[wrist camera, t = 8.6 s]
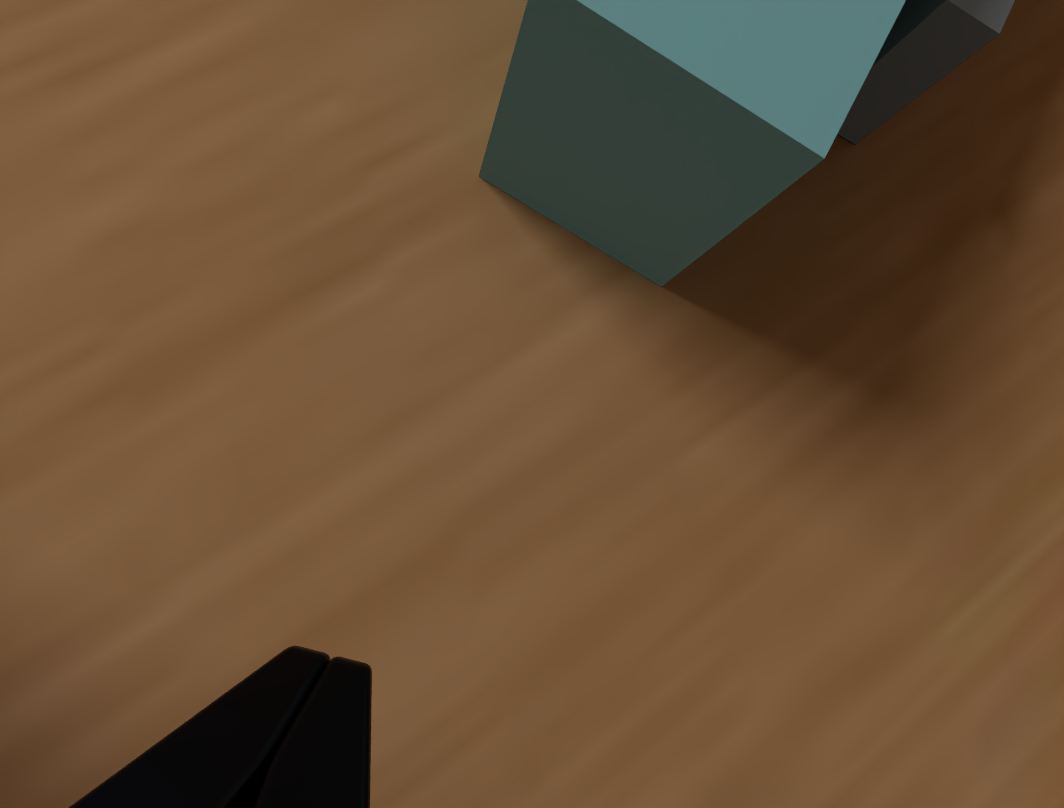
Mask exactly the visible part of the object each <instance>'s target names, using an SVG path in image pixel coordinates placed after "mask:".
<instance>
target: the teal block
mask: <svg viewBox="0 0 1064 808" xmlns="http://www.w3.org/2000/svg"><path fill="white" fill-rule="evenodd" d="M905 1H906V0H528V2H527V5H526V9H525V13H524V16H523V20H522V23H521V27H520V30H519V34H518V38H517V41H516V45H515V48H514V52H513V55H512V59H511V63H510V66H509V70H508V73H507V77H506V80H505V84H504V88H503V91H502V95H501V98H500V102H499V105H498V109H497V113H496V116H495V120H494V123H493V127H492V130H491V134H490V138H489V141H488V145H487V148H486V152H485V156H484V159H483V163H482V166H481V170H480V173H479V177H481V178H482V179H484V180H486V181H487V182H489V183H491V184H492V185H494V186H495V187H497V188H499V189H500V190H502V191H504V192H505V193H507V194H509V195H510V196H512V197H514V198H515V199H517V200H519V201H520V202H522V203H523V204H525V205H527V206H528V207H530V208H532V209H533V210H535V211H537V212H538V213H540V214H542V215H543V216H545V217H547V218H548V219H550V220H551V221H553V222H555V223H556V224H558V225H560V226H561V227H563V228H565V229H566V230H568V231H570V232H571V233H573V234H575V235H576V236H578V237H579V238H581V239H583V240H584V241H586V242H588V243H589V244H591V245H593V246H594V247H596V248H598V249H599V250H601V251H603V252H604V253H606V254H607V255H609V256H611V257H612V258H614V259H616V260H617V261H619V262H621V263H622V264H624V265H626V266H627V267H629V268H631V269H632V270H634V271H635V272H637V273H639V274H640V275H642V276H644V277H645V278H647V279H649V280H650V281H652V282H654V283H655V284H657V285H659V286H660V287H662V286H663V285H665V284H666V283H667V282H668V281H670V280H671V279H672V278H673V277H675V276H676V275H677V274H678V273H680V272H681V271H682V270H684V269H685V268H686V267H687V266H689V265H690V264H691V263H692V262H694V261H695V260H696V259H698V258H699V257H700V256H701V255H703V254H704V253H705V252H706V251H708V250H709V249H710V248H712V247H713V246H714V245H715V244H717V243H718V242H719V241H720V240H722V239H723V238H724V237H726V236H727V235H728V234H729V233H731V232H732V231H733V230H734V229H736V228H737V227H738V226H740V225H741V224H742V223H743V222H745V221H746V220H747V219H748V218H750V217H751V216H752V215H754V214H755V213H756V212H757V211H759V210H760V209H761V208H762V207H764V206H765V205H766V204H768V203H769V202H770V201H771V200H773V199H774V198H775V197H776V196H778V195H779V194H780V193H781V192H783V191H784V190H785V189H787V188H788V187H789V186H790V185H792V184H793V183H794V182H795V181H797V180H798V179H799V178H801V177H802V176H803V175H804V174H806V173H807V172H808V171H809V170H811V169H812V168H813V167H815V166H816V165H817V164H818V163H820V162H821V161H822V160H823V159H825V157H826V155H827V153H828V151H829V149H830V147H831V145H832V143H833V141H834V139H835V137H836V135H837V133H838V131H839V130H840V128H841V126H842V124H843V122H844V120H845V118H846V116H847V114H848V112H849V110H850V108H851V106H852V104H853V102H854V100H855V98H856V96H857V94H858V93H859V91H860V89H861V87H862V85H863V83H864V81H865V79H866V77H867V75H868V73H869V71H870V69H871V67H872V65H873V63H874V61H875V59H876V57H877V56H878V54H879V52H880V50H881V48H882V46H883V44H884V42H885V40H886V38H887V36H888V34H889V32H890V30H891V28H892V26H893V24H894V22H895V20H896V19H897V17H898V15H899V13H900V11H901V9H902V7H903V5H904V3H905Z"/></svg>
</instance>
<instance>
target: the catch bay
mask: <svg viewBox="0 0 1064 808" xmlns="http://www.w3.org/2000/svg"><path fill="white" fill-rule="evenodd" d="M1014 2H1015V0H906V1H905V3H904V5H903V7H902V9H901V11H900V13H899V15H898V17H897V19H896V20H895V22H894V24H893V26H892V28H891V30H890V32H889V34H888V36H887V38H886V40H885V42H884V44H883V46H882V48H881V50H880V52H879V54H878V56H877V57H876V59H875V61H874V63H873V65H872V67H871V69H870V71H869V73H868V75H867V77H866V79H865V81H864V83H863V85H862V87H861V89H860V91H859V93H858V94H857V96H856V98H855V100H854V102H853V104H852V106H851V108H850V110H849V112H848V114H847V116H846V118H845V120H844V122H843V124H842V126H841V128H840V130H839V131H838V133H837V134H839V135H840V136H842V137H843V138H845V139H847V140H848V141H850V142H851V143H853V144H855V145H856V144H857V143H858V142H859V141H861V140H862V139H863V138H865V137H866V136H867V135H869V134H870V133H871V132H872V131H874V130H875V129H876V128H878V127H879V126H880V125H882V124H883V123H884V122H886V121H887V120H888V119H889V118H891V117H892V116H893V115H895V114H896V113H897V112H899V111H900V110H901V109H902V108H904V107H905V106H906V105H908V104H909V103H910V102H912V101H913V100H914V99H916V98H917V97H918V96H919V95H921V94H922V93H923V92H925V91H926V90H927V89H929V88H930V87H931V86H933V85H934V84H935V83H936V82H938V81H939V80H940V79H942V78H943V77H944V76H946V75H947V74H948V73H949V72H951V71H952V70H953V69H955V68H956V67H957V66H959V65H960V64H961V63H963V62H964V61H965V60H966V59H968V58H969V57H970V56H972V55H973V54H974V53H976V52H977V51H978V50H979V49H981V48H982V47H983V46H985V45H986V44H987V43H989V42H990V41H991V40H993V39H994V38H995V37H996V36H998V35H999V34H1000V32H1001V30H1002V28H1003V26H1004V24H1005V21H1006V19H1007V17H1008V15H1009V13H1010V11H1011V8H1012V6H1013V4H1014Z"/></svg>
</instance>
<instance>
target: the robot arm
mask: <svg viewBox="0 0 1064 808" xmlns="http://www.w3.org/2000/svg"><path fill="white" fill-rule="evenodd" d="M371 694H372V670H371V667H370V666H369V665H368V664H366V663H362V662H359V661H355V660H351V659H347V658H343V657H334V658H332V659H331V660H330V657H329V656H328V655H327V654H326V653H323V652H319V651H315V650H311V649H308V648H304V647H300V646H292V647H289V648H287V649H285V650H284V651H282V652H281V653H279V654H278V655H277V656H275V657H274V658H273V659H271V660H270V661H269V662H267V663H266V664H264V665H263V666H262V667H260V668H259V669H258V670H256V671H255V672H254V673H252V674H251V675H249V676H248V677H247V678H245V679H244V680H243V681H241V682H240V683H238V684H237V685H236V686H234V687H233V688H232V689H230V690H229V691H228V692H226V693H225V694H223V695H222V696H221V697H219V698H218V699H217V700H215V701H214V702H212V703H211V704H210V705H208V706H207V707H206V708H204V709H203V710H202V711H200V712H199V713H197V714H196V715H195V716H193V717H192V718H191V719H189V720H188V721H187V722H185V723H184V724H182V725H181V726H180V727H178V728H177V729H176V730H174V731H173V732H171V733H170V734H169V735H167V736H166V737H165V738H163V739H162V740H161V741H159V742H158V743H156V744H155V745H154V746H152V747H151V748H150V749H148V750H147V751H146V752H144V753H143V754H141V755H140V756H139V757H137V758H136V759H135V760H133V761H132V762H130V763H129V764H128V765H126V766H125V767H124V768H122V769H121V770H120V771H118V772H117V773H115V774H114V775H113V776H111V777H110V778H109V779H107V780H106V781H105V782H103V783H102V784H100V785H99V786H98V787H96V788H95V789H94V790H92V791H91V792H89V793H88V794H87V795H85V796H84V797H83V798H81V799H80V800H79V801H77V802H76V803H74V804H73V805H72V806H70V807H69V808H370V764H371Z"/></svg>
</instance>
